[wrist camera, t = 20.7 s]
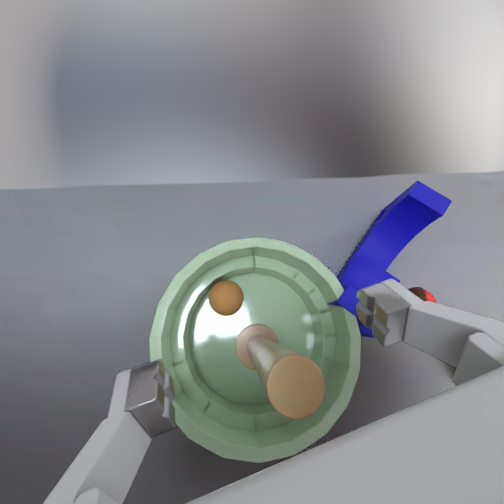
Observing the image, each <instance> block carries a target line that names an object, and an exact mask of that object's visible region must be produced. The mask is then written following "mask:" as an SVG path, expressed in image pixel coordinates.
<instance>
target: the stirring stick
mask: <svg viewBox="0 0 504 504" xmlns="http://www.w3.org/2000/svg"><path fill="white" fill-rule="evenodd" d="M236 352H237V356H238V358H239V360H240V361H241V363H242V364H243V365H244V366H246V367H247V368H249V369H252V370H256V371H257V374H258V376H259V378H260V380H261V383H262V385H263V387H264V389H265V392H266V394H267V396H268V398H269V401H270V403H271V404H272V406H273V407H274V409H275V410H276V411H277V412H278V413H280V414H281V415H283V416H285V417H287V418H290V419H303V418H306V417H308V416H310V415H311V414H313V413H314V412H315V411H316V410H317V409H318V408H319V406H320V404H321V402H322V400H323V397H324V391H325V385H324V379H323V376H322V373H321V371H320V369H319V368H318V366H317V365H316V364H315V363H314V362H313V361H312V360H310V359H309V358H307V357H305V356H303V355H301V354H299V353H297V352H294V351H292V350H290V349H288V348H286V347H284V346H282V345H279V342H278V339H277V336H276V335H275V333H274V332H273V331H272V330H271V329H270V328H269V327H267V326H264V325H260V324H253V325H250V326H247V327H246V328H244V329H243V330H242V331H241V332H240V334H239V335H238V337H237V341H236Z"/></svg>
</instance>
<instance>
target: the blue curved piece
mask: <svg viewBox="0 0 504 504" xmlns="http://www.w3.org/2000/svg"><path fill="white" fill-rule="evenodd" d="M451 202H452V201H451V200H449V199H448V198H446V197H444V196H443V195H441V194H439V193H438V192H436V191H434V190H433V189H431V188H429V187H428V186H426V185H424V184H423V183H421V182H419V181H417V182H415V183H414V184H413V185H412V186H411V187H409V188H408V189H407V190H406V191H405V192H403V193H402V194H401V195H400V196H398V197H397V198H396V199H395V200H394V201H392V202H391V203H390V204H389V205H388V206H386V207H385V208H384V209H383V210H382V211H381V212H380V214H379V215H378V217H377V218H376V220H375V221H374V223H373V224H372V226H371V227H370V229H369V230H368V232H367V233H366V235H365V236H364V238H363V239H362V241H361V242H360V244H359V245H358V247H357V248H356V250H355V251H354V253H353V254H352V256H351V257H350V258H349V260H348V261H347V263H346V264H345V266H344V267H343V269H342V270H341V272H340V273H339V275H338V276H337V279H338V281H339V282H340V284H341V286H342V287H343V289H344V292H343V293H342V295H341V296H340V298H339V299H338V300H336V301H333V302H330V303H327V305H333V306H339V307H343V308H345V309H346V310H348V311H349V312H350V313H352V314H353V315H354V316H356V319H357V323H358V326H359V330H360V334H361V336H366V337H371V338H374V336H373V335H372V329H369V328H367V327H365V326H364V325H363V324H362V323H361V321H360V320H359V318H358V315H357V312H356V305H357V304H358V302H359V299H358V298H357V292H358V290H360V289H363V288H365V287H368V286H371V285H374V284H377V283H380V282H382V281H385V280H388V279H394V280H396V281H397V282H398V283H399V282H400V280H398V279H397V278H395V277H394V276H392V275H391V274H389V273H388V272H386V270H387V268H388V267H389V265H390V264H391V262H392V261H393V260H394V258H395V257H396V256H397V255H398V254H399V252H400V251H401V250H402V249H403V248H404V247H405V246H406V245H407V244H408V243H409V242H410V241H411V240H412V239H413V238H414V237H415V236H416V235H417V234H418V233H419V232H420V231H421V230H423V229H424V228H425V227H426V226H428V225H429V224H430V223H432V222H433V221H435V220H436V219H438V218H440V217H441V216H443V215H444V213H445V212H446V210H447V208H448V207H449V205H450V203H451Z"/></svg>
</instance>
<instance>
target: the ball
mask: <svg viewBox="0 0 504 504" xmlns="http://www.w3.org/2000/svg"><path fill="white" fill-rule="evenodd" d="M208 300H209V304H210V306H211V308H212V309H213V310H214V311H215V312H216V313H218V314H220V315H231V314H233V313H235V312H237V311H238V310H239V309H240V307H241V305H242V303H243V292H242V290H241V288H240V286H239V285H238V284H236V283H235V282H233V281H230V280H223V281H219V282H217V283H216V284H215V285H214V286H213V287H212V288H211V290H210V292H209V296H208Z"/></svg>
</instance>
